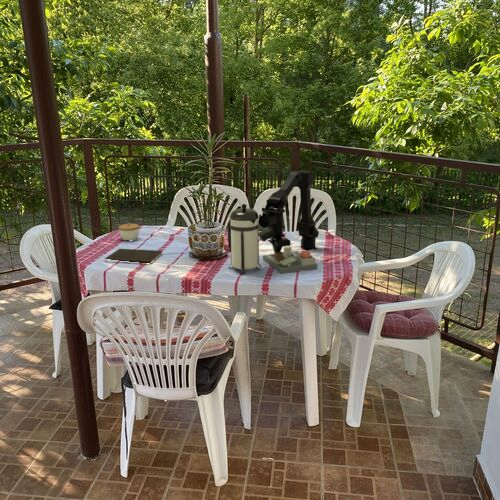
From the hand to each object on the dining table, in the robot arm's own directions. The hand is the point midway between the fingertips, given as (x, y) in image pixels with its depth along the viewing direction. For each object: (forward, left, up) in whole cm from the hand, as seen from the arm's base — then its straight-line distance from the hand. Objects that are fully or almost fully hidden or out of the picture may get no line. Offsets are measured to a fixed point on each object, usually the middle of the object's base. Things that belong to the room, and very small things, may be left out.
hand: (276, 255), depth 240 cm
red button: (-10, +10, 0) cm, 14 cm away
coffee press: (+17, +1, -4) cm, 17 cm away
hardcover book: (+61, -33, -4) cm, 69 cm away
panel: (-5, +3, -4) cm, 7 cm away
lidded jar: (+59, -66, -4) cm, 89 cm away
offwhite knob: (-7, -3, -1) cm, 8 cm away
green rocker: (-1, +10, 0) cm, 11 cm away
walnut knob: (0, +3, -2) cm, 3 cm away
